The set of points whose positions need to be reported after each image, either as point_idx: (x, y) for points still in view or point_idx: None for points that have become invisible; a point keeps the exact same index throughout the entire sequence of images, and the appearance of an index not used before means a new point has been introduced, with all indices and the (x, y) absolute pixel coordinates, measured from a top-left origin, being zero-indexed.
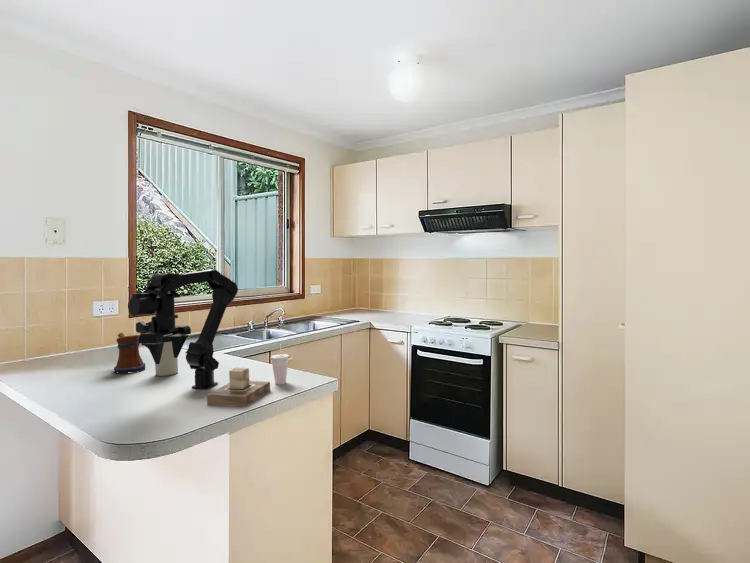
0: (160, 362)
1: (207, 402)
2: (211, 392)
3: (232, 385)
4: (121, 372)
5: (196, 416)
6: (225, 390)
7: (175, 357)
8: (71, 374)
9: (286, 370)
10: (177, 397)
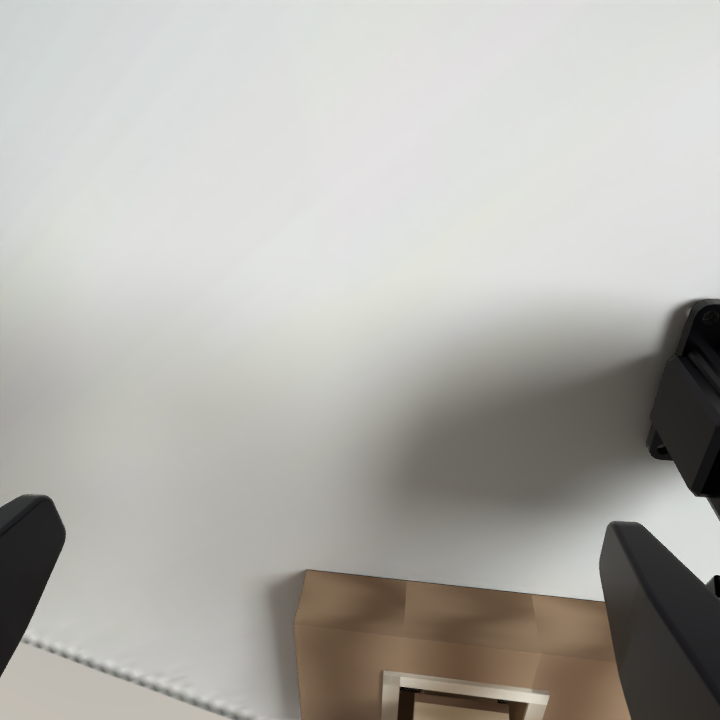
0: None
1: (304, 580)
2: (336, 633)
3: None
4: None
5: (132, 591)
6: (382, 686)
7: (602, 546)
8: None
9: None
10: (407, 328)
